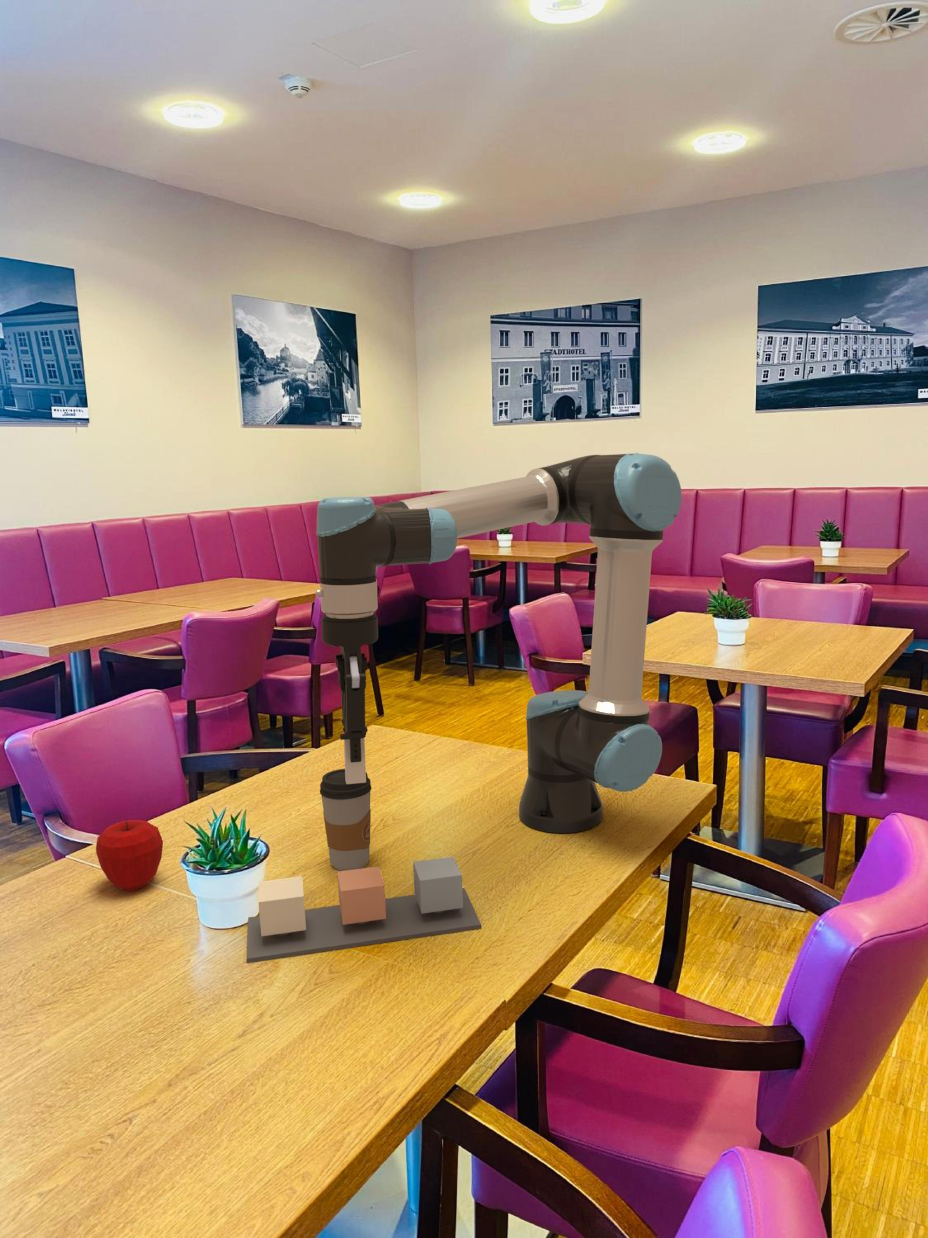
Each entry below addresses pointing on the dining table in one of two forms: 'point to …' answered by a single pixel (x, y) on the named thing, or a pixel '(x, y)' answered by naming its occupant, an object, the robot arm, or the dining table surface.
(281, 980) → the dining table surface
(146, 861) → the apple
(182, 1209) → the dining table surface
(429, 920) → the strip
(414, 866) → the block slate
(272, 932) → the block cream
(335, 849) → the coffee cup
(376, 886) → the block terracotta
